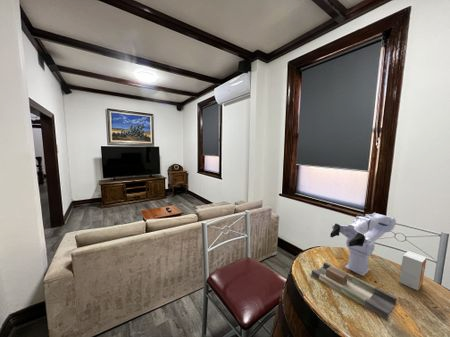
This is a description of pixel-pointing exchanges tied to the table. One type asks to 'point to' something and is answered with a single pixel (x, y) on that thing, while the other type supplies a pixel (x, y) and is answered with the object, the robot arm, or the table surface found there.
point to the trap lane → (360, 292)
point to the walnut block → (337, 275)
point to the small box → (412, 270)
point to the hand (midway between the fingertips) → (340, 239)
